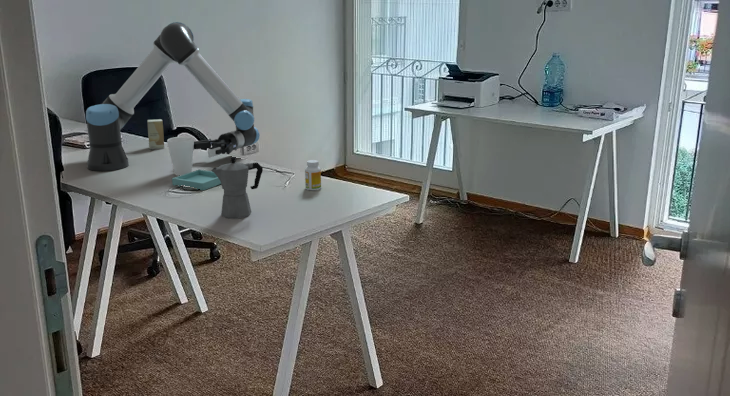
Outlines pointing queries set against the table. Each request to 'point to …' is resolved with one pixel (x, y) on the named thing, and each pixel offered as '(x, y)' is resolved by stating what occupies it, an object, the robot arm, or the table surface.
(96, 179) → the table surface
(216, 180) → the tray
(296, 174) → the table surface
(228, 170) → the coffeepot
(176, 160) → the foam cup
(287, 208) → the table surface
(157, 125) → the skincare box
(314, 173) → the supplement bottle
